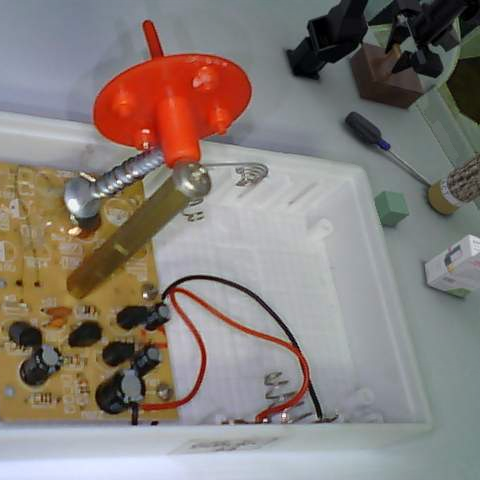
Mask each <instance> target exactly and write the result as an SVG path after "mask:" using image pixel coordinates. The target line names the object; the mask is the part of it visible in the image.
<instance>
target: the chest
mask: <svg viewBox="0 0 480 480" xmlns="http://www.w3.org/2000/svg"><path fill="white" fill-rule="evenodd" d="M349 63H350V66H351V69H352V70H351V71H352V73H353V77H354V80H355V83H356V87H357V89H358V92H359V93H358V94H359V96H360V99H362V100H366V101H371V102H375V103H379V104H383V105H387V106H392V107H396V108H400V109H404V110H408V109H409V108H410V107H411V106H412V105H413V104H414V103H416V102H417V101H418V100H419V99H420V98H421V97H422V96H423V95H419V94H415V93H411V92H407V91H403V90H399V89H395V88H391V87H387V86H383V85H379V84H375V83H373V82H372V79H371V75H370V72H369V69H368V66H367V63H366V60H365V56H364V53H363V50H362V47H361V46H360V47H359V49H358V50H357V51H356V52H355V53H354V54H353V55H352V56H351V57H350V58H349Z"/></svg>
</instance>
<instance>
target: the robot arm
mask: <svg viewBox="0 0 480 480" xmlns="http://www.w3.org/2000/svg"><path fill="white" fill-rule="evenodd" d="M369 1H370V0H340V1H339V3H338V4H336V5H334V6H333V7H331V8H330V9H329V10H328V13H326V14H323V15H320V16H317V17H314V18H311V19H309V20H308V21H307V24H306V30H307V32H308V36H304V38H303V39H302V40H301V41H300V43H299V44H298V45H297V46H296V47H295V48H294V49H287V50H286V56H287V58H288V61H289V65H290V69H291V71H292V74H293V75H294V76H296V77H301V78H306V79H312V80H317V81H318V80H320V79H321V76H320V72H321V71H322V70H323V69H324V68H325V67H326V66H327V64H332V65H334V64H336V63H337V62H339V61H341V60H342V59H344V58H345V57H347V56H349V55H350V54H352V53H353V52H355V51H356V50H357V49H358V48H359V45H361V44H363V42H364V39H365V36H366V35H367V33H368V31H369V26H368V25H369V24H368V23H367V20H366V16H365V10H366V7H367V6H368V3H369ZM390 8H391V11H392V13H393V15H394V16H393V17H392V24H391V28H390V32H389V36H388V40H387V43H386V46H385V48H386V49H385V54H387V53H388V52H389V51H390V50H391V49H392V45H393V44H394V43H399V44H400V46H401V45H402V44H403V43H404V42H406V40H407V39H409V38H411V39H412V42H413V45H414V46H415V47H416V49H415V50H413V51H411V50H406V49H405V50H403V51H402V55H401V56H400V58H399V59H398V61H397V62H396V64H395V65H394V67H393V69H392V71H391V73H392V74H397V73H399V72H402V71H404V70H406V69H409V68H411V67H413V70H414V71H415V72H416V73H417V74H418V75H421V76H425V77H428V78H433V79H437V78H438V77H440V76H441V75H442V74H443V73H444V71H445V67H444V64H443V61H442V59H441V56H440V54H439V53H436V52H433V51H432V50H431V49H430V47H429V46H430V45H431V46H432V47H434V48H438V47H441V48H442V49H443V50H444V52H445V53H448V52H450V51H451V50H453V49H455V48H456V47H458V46H460V45H461V44H462V43H461V40H460V38H459V35H458V32H457V30H456V29H455V26H454V23H455V22H456V19H457V18H458V17H460V19H461V20H462V21H463V22H466V23H469V24H473V25H476V26H479V27H480V0H431V1H430V2H429V3H427V2H423V3H422V4H421V3H420V0H393V1H392V2H391V3H390ZM395 15H397V16H395Z"/></svg>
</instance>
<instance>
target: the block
mask: <svg viewBox="0 0 480 480" xmlns="http://www.w3.org/2000/svg"><path fill="white" fill-rule="evenodd" d="M373 199H374V201H375V206H376V209H377V213H378V216H379V219H380V222H381V224H380V225H383V226H389V227H395V226H396V225H398V224H400V223H401V222H402V221H403V220H404V219H406V218H407V217H408V216H409V215H410V210H409V207H408V203H407V201H406V197H405V194H404V193H403V192H397V191H392V190H386V189H384V190H383V191H381V192H380V193H379V194H378V195H376V196H375V197H374V198H373Z"/></svg>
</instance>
